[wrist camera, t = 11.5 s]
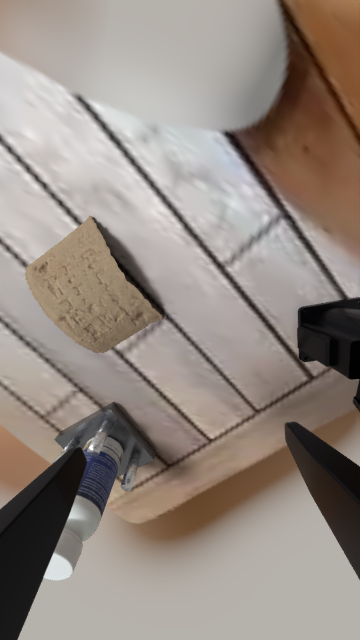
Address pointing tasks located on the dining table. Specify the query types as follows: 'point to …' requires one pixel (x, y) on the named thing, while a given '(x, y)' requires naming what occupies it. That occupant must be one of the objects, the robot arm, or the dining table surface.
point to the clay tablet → (88, 291)
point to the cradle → (113, 426)
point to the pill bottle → (86, 508)
